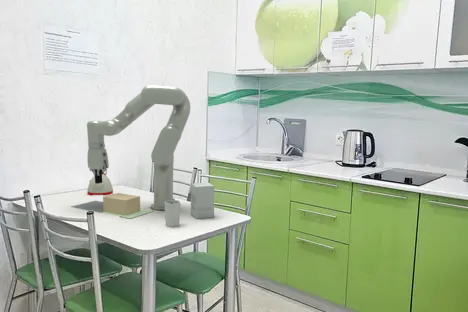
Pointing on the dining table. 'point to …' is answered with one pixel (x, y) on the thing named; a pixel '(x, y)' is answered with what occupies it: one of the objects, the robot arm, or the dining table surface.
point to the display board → (98, 207)
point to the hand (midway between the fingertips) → (98, 183)
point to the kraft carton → (121, 203)
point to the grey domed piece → (100, 186)
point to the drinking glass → (172, 212)
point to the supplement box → (202, 200)
